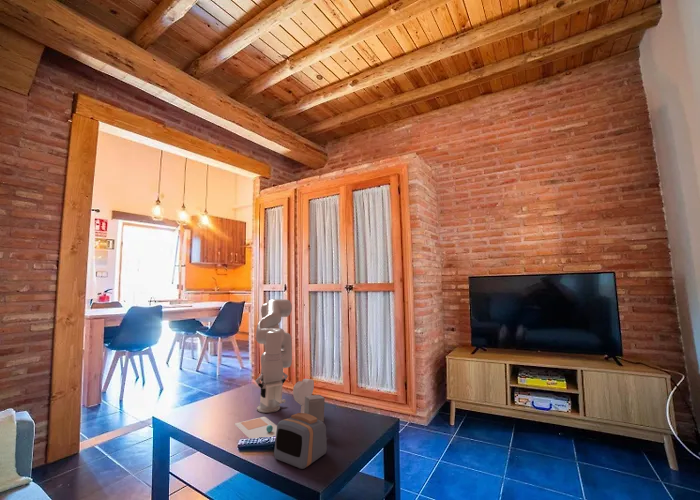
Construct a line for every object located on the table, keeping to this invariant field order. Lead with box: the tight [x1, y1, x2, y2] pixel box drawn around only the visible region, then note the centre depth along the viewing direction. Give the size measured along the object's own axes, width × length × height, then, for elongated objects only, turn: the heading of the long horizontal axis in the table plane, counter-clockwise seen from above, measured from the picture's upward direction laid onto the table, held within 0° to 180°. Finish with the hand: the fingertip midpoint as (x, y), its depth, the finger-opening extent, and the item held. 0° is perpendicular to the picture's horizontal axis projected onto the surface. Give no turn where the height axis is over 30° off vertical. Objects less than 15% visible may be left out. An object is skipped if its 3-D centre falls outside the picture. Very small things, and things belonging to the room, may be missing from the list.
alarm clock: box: [273, 412, 328, 470], centre depth 133 cm, size 16×16×16 cm
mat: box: [234, 416, 277, 440], centre depth 156 cm, size 16×26×1 cm, turn 39°
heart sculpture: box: [292, 378, 315, 413], centre depth 176 cm, size 16×5×18 cm, turn 156°
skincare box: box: [304, 394, 326, 424], centre depth 157 cm, size 8×7×16 cm
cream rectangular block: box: [259, 381, 283, 406], centre depth 155 cm, size 7×7×9 cm
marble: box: [266, 425, 273, 432], centre depth 153 cm, size 3×3×3 cm
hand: (271, 395), depth 155 cm, fingers closed on cream rectangular block, 7 cm apart
